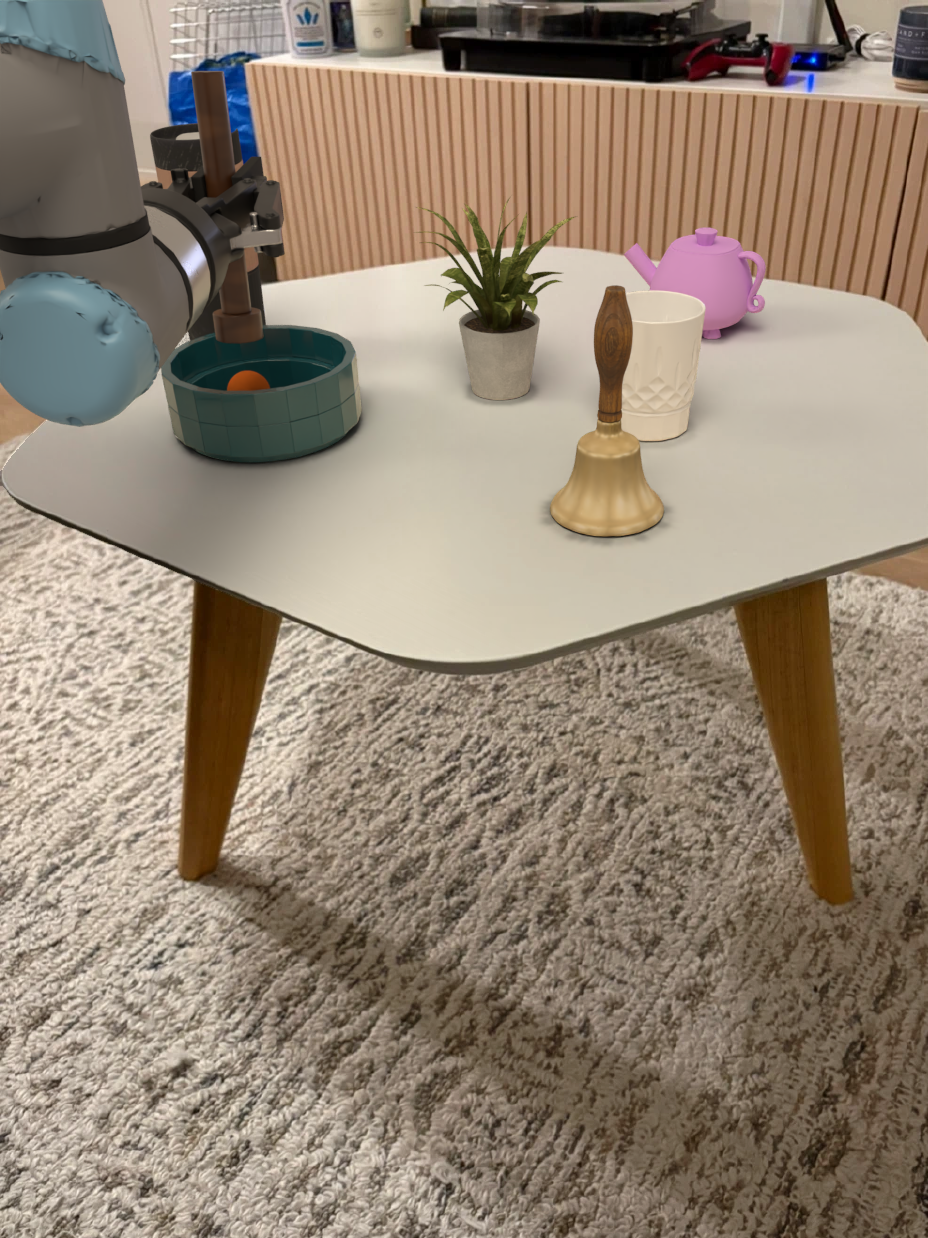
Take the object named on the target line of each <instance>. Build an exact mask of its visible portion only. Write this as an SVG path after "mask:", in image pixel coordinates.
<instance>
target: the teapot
mask: <svg viewBox="0 0 928 1238" xmlns="http://www.w3.org/2000/svg"><path fill="white" fill-rule="evenodd" d="M694 233H695V234H688V235H684V236H680V237H678V238H676V239H675V240H673V241H672V242H671V243H670V245H669V246H668V248H667V249H666V251H665V252H664V254H663V255H662V257H661V259H660V261H659V262H658V264H657V266H656V265H655V263H653V261H652V260H651V259H650V257H649V256H648V255H647V254H646V252H645V251H644V250H643V248H642V247H641V246H640V245H639V243H638V242H636V243H635V244H634V245H632V246H631V247H629V249H628V250H626V252H624V253H623V256H624V257H625V258H626V260H627V261H628V262H629V263H630V264H631V266H632V267H633V268H634V269H635V271H636V272H637V273H638V274H639V275H640V277H641V278H642V279H643V280H644V282H645V283H646V284H647V285H648V286H649V290H657V291H670V292H677V293H682V294H686V295H690V296H692V297H695V298H697V299H699V300H700V301H702V302H703V303H704V305H705V307H706V310H705V317H704V324H703V331H702V338H704V339H709V340H717V339H720V338H721V337H722V335H721V329H726V328H728V327H732V326H733V325H736V324H737V323H739V322H740V321H741V320H742V319H743V318H744V317H745V316H746V314H747V313H748V312H749V313H751V314H757V313H760V312H762V311H763V310H764V309H765V306H766V299H765V298H764V296H762V295H761V294H757V293H758V292H759V289H760V288H761V285H762V282H763V281H764V278H765V275H766V269H767V267H766V262H765V259H764V258H763V257H762V255H760V254H759V253H757V252H755V251H752V250H744V249H743V247H742V245H741V242H740V241H739V240H737V239H736V238H732V237H728V236H722V235H718V230H717V229H716V228H713V227H699V228H696V229H695V230H694ZM748 260H750V261H752V262H754V264H755V265H756V276H755V279H754V281H753V275H752V270H751V268H750V264H749V261H748ZM755 301H757V305H755Z"/></svg>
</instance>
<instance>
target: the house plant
mask: <svg viewBox="0 0 928 1238" xmlns="http://www.w3.org/2000/svg"><path fill="white" fill-rule="evenodd" d="M512 196H513V194H511V196H509V197H508V199H507V201H506V202H505V204H504V206H503V209H502V212H501V215H500V219H499V225H498V231H497V237H496V244H495V247H494V251H493V250H492V247H491V243H490V241H489V239H488V236H487V234H486V233H485V231H484V230H483V228H482V227H481V225H480V221H479V218H478V216H477V214H476V212H475V211H474V210H473V209H472V208H471V207H470V206H469V205H468V204H466V203H464V206H465V208H466V209H467V210H466V209H464V207H461V209H462V211H463V213H464V214H465V215H466V216H467V221H468V222H469V224H470V225H471V228H472V233H473V236H474V238H475V242H476V245H477V248H476V254H477V258H478V261H479V264H480V269H481V271H480V269H479V268H478V266H477V264H476V262H475V260H474V258H473V257H472V255H471V253H470V252H469V250H468V249H467V247H466V245H465V243H464V242H463V240H462V238H461V236H460V235H459V233H458V231H457V230H456V228H455V227H454V226H453V225H452V223H451V222H450V221H449V220H448V219H447V218H446V217H445V216H443V215H441V214H440V213H439V212H436V211H433V210H430V209H428V208H424V207H418V206H415V208H417V209H420V210H424V211H426V212H429V213H431V214H433V215H435V216H436V217H437V218H438V219H440V220H441V221H442V222H443V223H444V225H445V226H446V227H447V228H448V230H449V231H450V233H451V234H452V236H453V238H452V237H450V236H449V235H447V234H444V233H441V232H437V231H426V230H425V231H415V232H412V233H414V234H418V233H419V234H420V233H422V234H423V233H427V234H436V235H439V236H441V237H443V238H444V239H446V240H447V241H449V242H450V243H451V244H452V245H453V246H454V247H455V248H456V249H457V251H458V252H459V253H460V254H461V255H462V256H463V258H464V259H465V261H466V262H467V264H468V265H469V267H470V269H471V270H472V272H473V274H474V275H475V276H476V278H477V281H478V283H479V284H480V285H478V284H477V283H475V282H474V280H473V279H472V278H471V276H470V275H469V274H468V273H467V272H466V271H465V270H464V268H463V267H462V265H461V264H460V262H459V261H458V260H457V258H456V257H455V256H454V255H453V253H451V251H450V250H448V249H447V248H446V247H444V246H443V245H442V244H439V243H436V242H433V241H422V242H420V244H433V245H435V246H438V247H439V248H440V249H441V250H443V251H444V252H445V253H446V254H447V255H448V256H449V257H450V258H451V260H452V261H453V262H454V263H455V264H456V266H457V267H450V268H448V269H446V270H445V271H443V273H441V274H440V277H441V278H442V277H446V278H448V279H452V280H454V281H451V282H449V283H448V285H449V284H457V285H461V286H462V287H463V288H464V289H456V290H451V289H449V288H447V287H444V286H442V285H441V284H433V283H432V284H424V285H423V287H430V286H431V287H432V286H433V287H441V288H443V289H446V290H447V291H449V293H448V294H447V295H446V296H445V300H444V303H443V309H442V312H444V311H445V309H446V307H448V306H450V305H451V304H453V303H455V302H456V301H458V300H460V301H461V302H462V303H463V304H464V305H465V306H466V307H467V308H468V309H470V311H468V312H466V313H465V314H463V315H462V316H461V317H460V318H459V320H458V327H459V332H460V336H461V342H462V347H463V351H464V356H465V361H466V366H467V371H468V375H469V380H470V385H471V390H472V393H473V394H474V395H475V396H477V397H479V398H481V399H486V400H491V401H507V400H508V401H509V400H513V399H519V398H520V397H523V396H525V395H527V394H528V393H529V391H530V387H531V381H532V376H533V375H532V374H533V367H534V362H535V356H536V350H537V343H538V336H539V329H540V323H541V319H540V317H539V316H538V314H536V313H535V310H536V308H537V305H539V304H538V300H539V299H538V293H539V292H541V291H542V290H543V289H545V288H546V287H548V286H550V285H553V284H557V283H563V281H562V280H558V279H551V280H547V281H545V282H543V283H542V284H541V285H539V286H538V287H536V289H535V290H534V291H533V292H530V291H531V289H532V287H533V285H534V284H535V281H536V280H538V279H541V278H545V277H548V276H552V275H563V272H561V271H537V272H533V273H527V271H528V269H529V267H530V265H531V264H532V262H533V261H534V259H535V258H536V256H537V255H538V254H539V253H540V252H541V250H543V248H544V247H545V246H546V244H548V243H549V241H550V240H551V239H552V238H553V236H554V235H555V233H557V231H558V230H559V229H560V228H562V226H564V225H565V224H567V223H568V222H570V221H572V220H573V219H575V218H577V217H578V215H577V216H576V215H575V216H571V217H568V218H565V219H563V220H561V221H559V222H558V223H556V224H554V226H552V227H551V228H549V230H548V231H547V232H545V234H543V236H542V237H541V238H540V239H539V240H536V241H534V242H533V243H531V244H530V245H529V246H527V247H526V248H525V249H523V251H522V248H523V246H524V242H525V239H526V233H527V226H528V212H527V211H526V212H525V215H524V216H523V219H522V222H521V226H520V227H519V230H518V232H517V235H516V240H515V243H514V247H513V249H512V250H513V251H512V253H511V256H505V257H504V258H502V259H501V257H502V249H503V248H502V247H503V242H504V238H505V234H506V232H507V231H506V230H507V229H508V227H509V226H510V225H511V223H512V222H514V220H515V219H517V217H518V216H519V215H520V213H521V212H520V213H519V214H517V215H516V216H515V217H514V218H513V219H511V221H509V222H508V223H507V224H506V226H504V228H503V229H502V231H501V226H502V225H501V224H502V219H503V214H504V212H505V209H506V207H507V204H508V202H509V200H510V199H511V197H512ZM500 231H501V232H500ZM521 251H522V252H521ZM481 273H482V274H481ZM468 294H469V296H470V297H471V299H472V301H473V303H474V304H475V306H476V308H477V309H474V308H472V306H471V305H470V304H468V303H467V302H466V301H465V300H464V299H463V298H462V297H464V296H466V295H468ZM523 302H524V305H523ZM527 308H529V309H530V310H527Z"/></svg>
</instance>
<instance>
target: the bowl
mask: <svg viewBox="0 0 928 1238" xmlns="http://www.w3.org/2000/svg"><path fill="white" fill-rule="evenodd" d="M263 334H264V337H263V338H262V339H261V340H258V341H254V342H249V343H236V344H233V343H223V342H219V341H217V340H216V335H215V333H212V334H208V335H205V336H202V337H199V338H197V339H194V340H191V341H190V340H188V341H186V342H183V343H182V344H180V345H179V346H176V348H175V349H174V351H173V352H172V353H171V355H170V356H169V357H168V359H167V360H166V362H165V363H164V364H163V366H162V367H161V368H160V373H161V378H162V383H163V387H164V388H163V389H164V392H165V393H164V394H165V399H166V402H167V406H168V411H169V412H168V413H169V416H170V421H171V426H172V431H173V435H174V436H175V437H176V438H177V439H178V440H179V441H181V442H182V443H183V445H185V446H187V447H189V448H191V449H192V450H193V451H195V452H197V453H198V454H200V455H203V456H205V457H209V458H211V459H214V460H215V459H216V460H220V461H225V462H235V463H269V462H278V461H285V460H290V459H295V458H300V457H304V456H307V455H311V454H314V453H317V452H320V451H322V450H324V449H327V448H329V447H330V446H333V445H334V444H336V443H338V442H339V441H341V440H342V439H344V437H345V436H347V434H349V432H350V431H351V429H352V428H353V427H355V426H356V425H357V424H358V423H359V420H360V417H361V414H362V411H363V408H362V399H361V388H360V379H359V369H358V359H357V351H356V350H355V347H354V345H353V342H352V341H351V340H349V339H348V338H345V337H344V336H343V335H340V334H339V333H337V332H333V331H329V330H326V329H322V328H319V327H313V326H305V325H294V324H293V325H292V324H266V325H263ZM241 371H254V372H257V373H259V374H260V375H262V376H263V377H264V378H265V379H266V380H267V382H268V384H269V386H270V389H262V390H254V391H227V387H228V384H229V381H230V380H231V378H232V377H233V376H234V375H235V374H237V373H239V372H241Z"/></svg>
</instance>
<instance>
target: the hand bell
mask: <svg viewBox="0 0 928 1238" xmlns="http://www.w3.org/2000/svg"><path fill="white" fill-rule="evenodd" d="M626 293H627V292H626V287H624V286H622V285H618V284H616V285H613V284H612V285H607V286H606V287H605V290H604V294H603V298H602V301H601V304H600V305H599V306H600V307H599V309H598V311H597V315H596V318H595V322H594V329H593V353H594V361H595V365H596V369H597V374H598V377H599V393H598V403H597V406H598V408H597V414H596V416H597V420H596V429H595V430H593V431H590V432H587V433H585V434H583V435H582V436H581V437H580V438H579V439H578V441H577V444H576V451H575V458H574V464H573V467H572V471H571V474H570V476H569V478H568V480H567V482H566V483H565V485H564V487H562V488H561V489H560V490H558V491H557V492H556V494H555V495H554V496H553V498H552V500H551V502H550V506H549V511H550V514H551V517H552V518H553V519H554V520H555V522H556V523H558V524H559V525H560V526H562V527H564V528H566V529H568V530H570V531H573V532H575V533H579V534H583V535H587V536H592V537H621V536H623V537H624V536H628V535H633V534H638V533H641V532H643V531H646V530H648V529H650V528H652V527H653V526H655V525H656V524H658V523H659V522H660V520H661V519H662V518H663V516H664V513H665V505H664V503H663V501H662V499H661V498H660V496H659V495H658V493H657V492H656V491H655V490H654V489H652V488H651V486H650V485H649V483H648V481H647V478H646V476H645V473H644V469H643V462H642V452H641V442H640V440H638V439H637V438H636V437H635V436H634V435H632V434H630V433H628V432H625V431H623V430H622V428H621V418H622V410H621V409H622V383H623V378H624V374H625V371H626V368H627V366H628V363H629V359H630V355H631V349H632V339H633V325H632V318H631V314H630V310H629V306H628V303H627V299H626Z"/></svg>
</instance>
